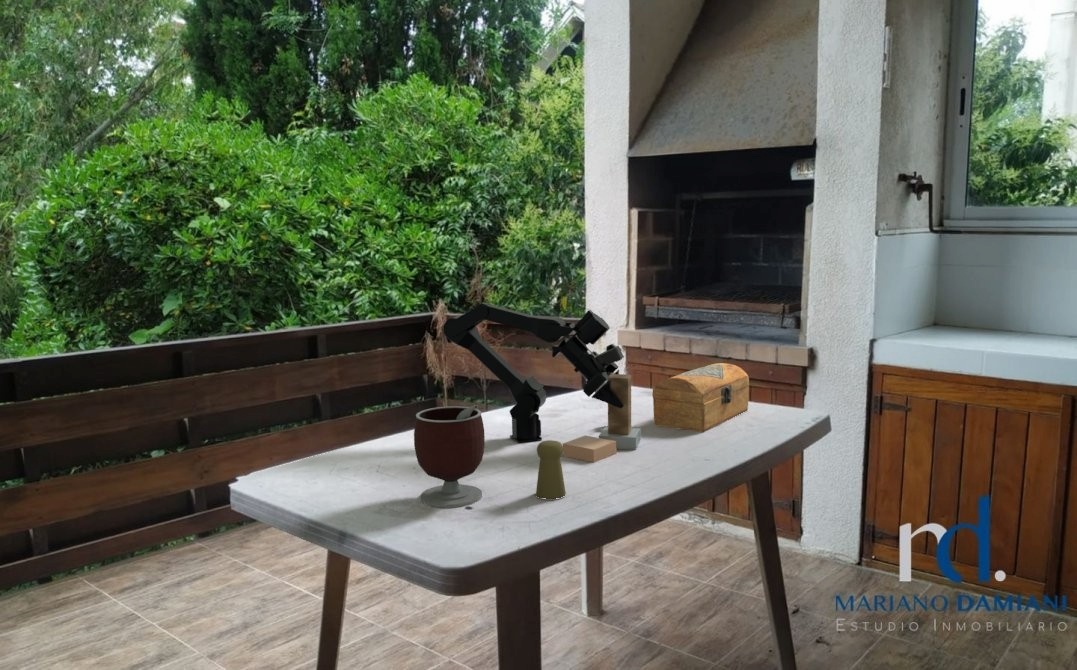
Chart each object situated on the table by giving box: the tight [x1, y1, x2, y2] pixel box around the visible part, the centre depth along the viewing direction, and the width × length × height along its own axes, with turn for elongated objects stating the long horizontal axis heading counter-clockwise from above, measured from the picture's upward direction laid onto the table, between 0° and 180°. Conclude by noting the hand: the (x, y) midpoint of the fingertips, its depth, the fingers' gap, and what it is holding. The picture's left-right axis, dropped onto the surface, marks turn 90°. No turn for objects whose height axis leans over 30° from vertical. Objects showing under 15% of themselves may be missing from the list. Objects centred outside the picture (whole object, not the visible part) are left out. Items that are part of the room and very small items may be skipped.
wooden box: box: [651, 362, 750, 433], centre depth 218 cm, size 30×16×14 cm, turn 141°
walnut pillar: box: [607, 373, 632, 435], centre depth 192 cm, size 5×5×14 cm
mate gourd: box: [413, 404, 486, 509], centre depth 155 cm, size 16×14×20 cm
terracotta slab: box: [562, 435, 617, 463], centre depth 185 cm, size 9×9×3 cm
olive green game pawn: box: [535, 439, 567, 499], centre depth 156 cm, size 6×6×11 cm
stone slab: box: [598, 426, 642, 451], centre depth 193 cm, size 9×9×3 cm
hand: (625, 403), depth 192 cm, fingers open, 9 cm apart
